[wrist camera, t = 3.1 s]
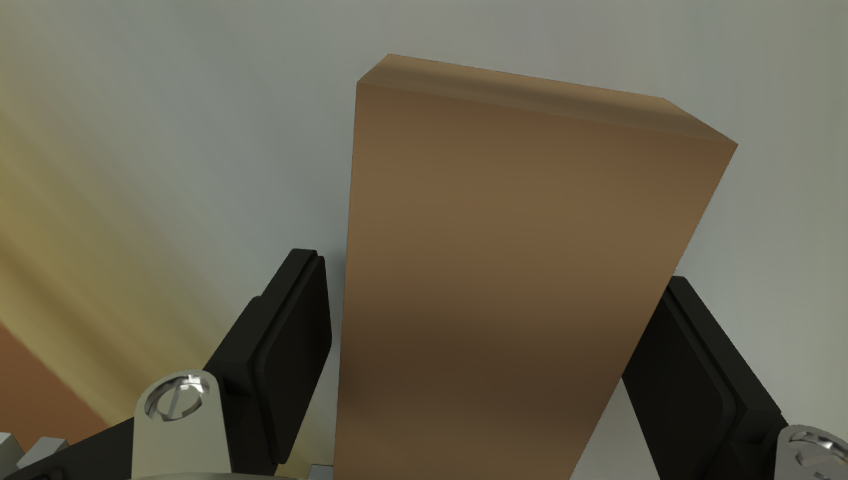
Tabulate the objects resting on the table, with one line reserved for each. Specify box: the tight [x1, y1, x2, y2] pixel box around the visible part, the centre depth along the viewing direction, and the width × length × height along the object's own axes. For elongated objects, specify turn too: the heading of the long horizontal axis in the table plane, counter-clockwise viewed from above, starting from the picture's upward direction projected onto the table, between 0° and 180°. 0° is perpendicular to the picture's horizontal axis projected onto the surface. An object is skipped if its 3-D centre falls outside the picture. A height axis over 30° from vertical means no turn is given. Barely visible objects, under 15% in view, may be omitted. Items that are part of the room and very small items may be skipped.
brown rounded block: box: [333, 54, 738, 480], centre depth 11 cm, size 11×6×4 cm, turn 172°
